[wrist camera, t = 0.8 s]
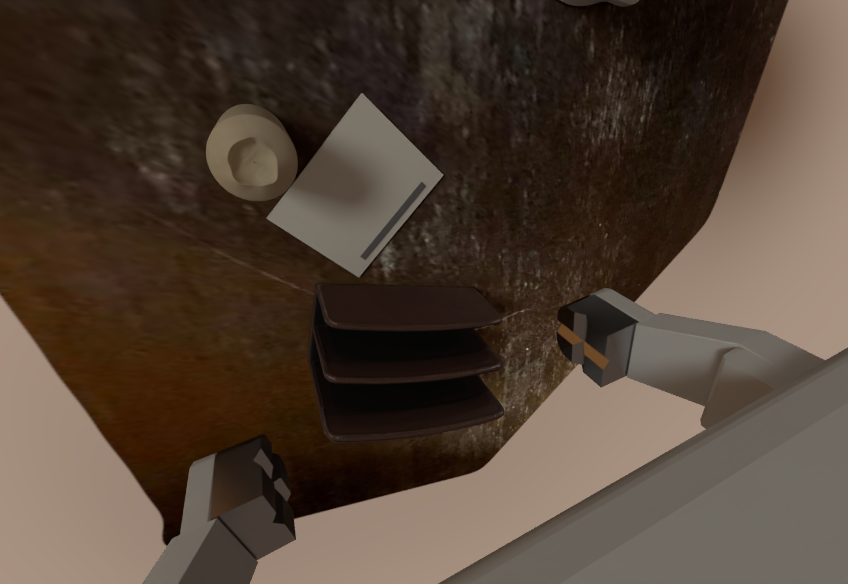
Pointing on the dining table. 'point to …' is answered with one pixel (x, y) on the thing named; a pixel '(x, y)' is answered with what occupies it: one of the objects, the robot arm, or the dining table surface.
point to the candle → (251, 153)
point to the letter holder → (400, 360)
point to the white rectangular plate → (356, 189)
